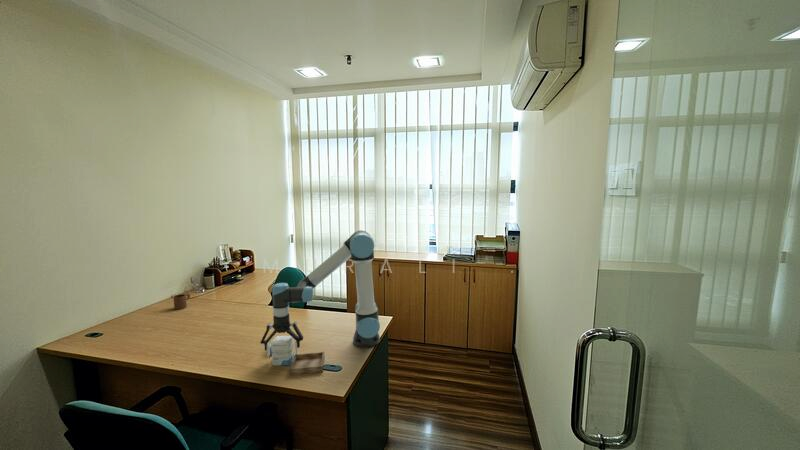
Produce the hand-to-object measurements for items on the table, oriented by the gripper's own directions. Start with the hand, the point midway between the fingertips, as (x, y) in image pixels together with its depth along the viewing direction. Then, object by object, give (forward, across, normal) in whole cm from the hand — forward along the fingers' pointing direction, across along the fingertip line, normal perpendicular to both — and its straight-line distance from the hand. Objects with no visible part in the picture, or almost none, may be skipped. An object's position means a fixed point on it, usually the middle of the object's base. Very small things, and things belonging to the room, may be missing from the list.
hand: (282, 354), depth 158 cm
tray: (+3, -13, +7) cm, 15 cm away
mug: (+4, +88, -93) cm, 128 cm away
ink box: (+4, 0, 0) cm, 4 cm away
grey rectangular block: (+4, +7, -13) cm, 15 cm away
